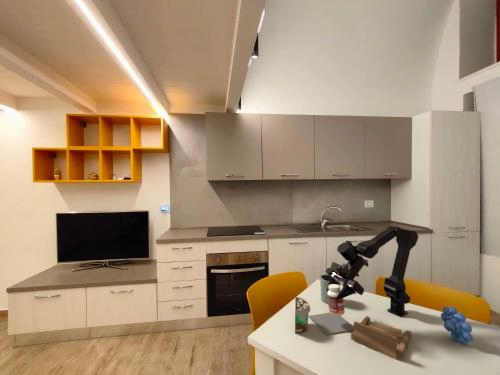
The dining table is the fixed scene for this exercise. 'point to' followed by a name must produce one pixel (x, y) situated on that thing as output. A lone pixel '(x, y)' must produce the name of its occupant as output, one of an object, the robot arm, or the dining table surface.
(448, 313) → the grapes
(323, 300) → the grey-green rounded cylinder
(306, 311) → the food container
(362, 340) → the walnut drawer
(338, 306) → the pill bottle
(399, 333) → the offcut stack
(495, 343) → the dining table surface
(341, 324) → the slate mat
